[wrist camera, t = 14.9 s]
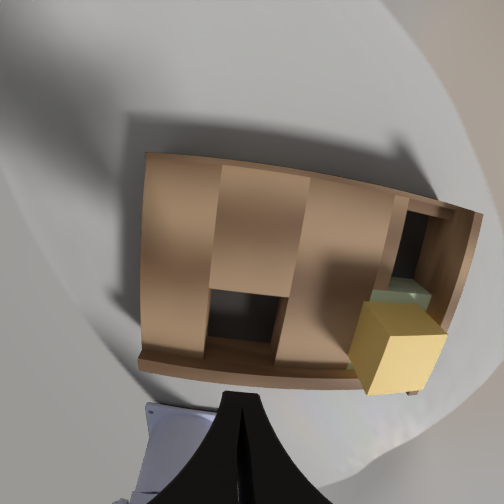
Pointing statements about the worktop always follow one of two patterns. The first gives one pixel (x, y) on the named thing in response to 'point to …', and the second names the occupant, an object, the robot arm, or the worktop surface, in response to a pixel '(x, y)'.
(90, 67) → the worktop surface
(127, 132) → the worktop surface
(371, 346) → the ochre block
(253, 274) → the box
